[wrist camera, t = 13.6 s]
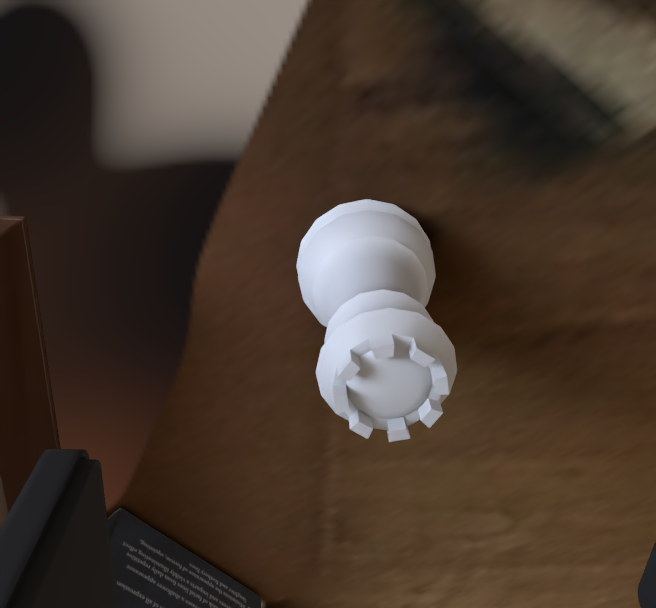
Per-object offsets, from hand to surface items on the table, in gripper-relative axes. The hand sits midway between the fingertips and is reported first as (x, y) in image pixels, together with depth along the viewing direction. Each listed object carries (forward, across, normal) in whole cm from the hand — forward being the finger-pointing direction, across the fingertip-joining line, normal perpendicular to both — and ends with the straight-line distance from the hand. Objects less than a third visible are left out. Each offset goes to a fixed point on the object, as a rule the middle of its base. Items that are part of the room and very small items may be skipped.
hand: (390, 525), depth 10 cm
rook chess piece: (+12, -1, 0) cm, 12 cm away
